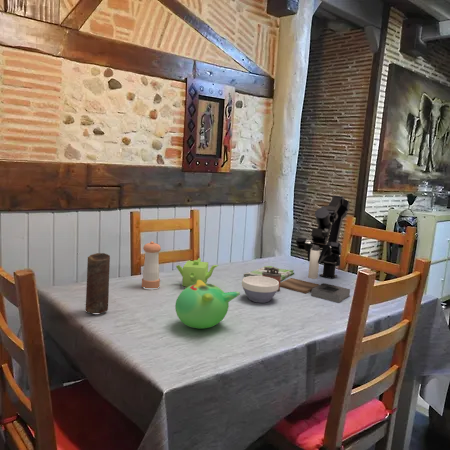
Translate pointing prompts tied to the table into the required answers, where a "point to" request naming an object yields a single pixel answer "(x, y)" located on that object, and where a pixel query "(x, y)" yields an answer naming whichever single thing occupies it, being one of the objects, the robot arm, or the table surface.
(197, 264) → the kettle
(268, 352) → the table surface
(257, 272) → the dish towel
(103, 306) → the candle
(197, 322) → the toy bird
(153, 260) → the pepper shaker
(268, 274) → the lighter
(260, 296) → the bowl
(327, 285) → the housing
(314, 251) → the white bottle
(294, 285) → the board
